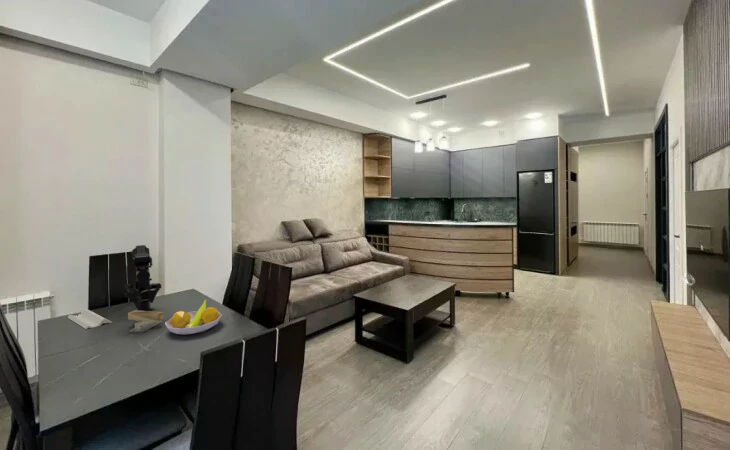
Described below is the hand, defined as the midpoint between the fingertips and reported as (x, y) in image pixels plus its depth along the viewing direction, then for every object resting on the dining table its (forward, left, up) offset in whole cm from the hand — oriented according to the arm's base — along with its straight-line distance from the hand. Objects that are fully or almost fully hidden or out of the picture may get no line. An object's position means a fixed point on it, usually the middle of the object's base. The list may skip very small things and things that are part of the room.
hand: (144, 305), depth 168 cm
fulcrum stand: (0, 0, -12) cm, 12 cm away
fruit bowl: (0, +29, -12) cm, 32 cm away
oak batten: (0, 0, -8) cm, 8 cm away
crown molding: (-7, -41, -13) cm, 43 cm away
